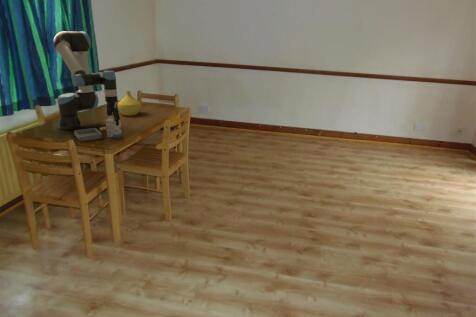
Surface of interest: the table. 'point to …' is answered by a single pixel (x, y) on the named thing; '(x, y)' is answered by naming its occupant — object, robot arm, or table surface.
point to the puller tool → (102, 128)
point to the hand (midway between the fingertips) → (114, 127)
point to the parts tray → (87, 134)
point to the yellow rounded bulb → (129, 105)
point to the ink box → (113, 129)
